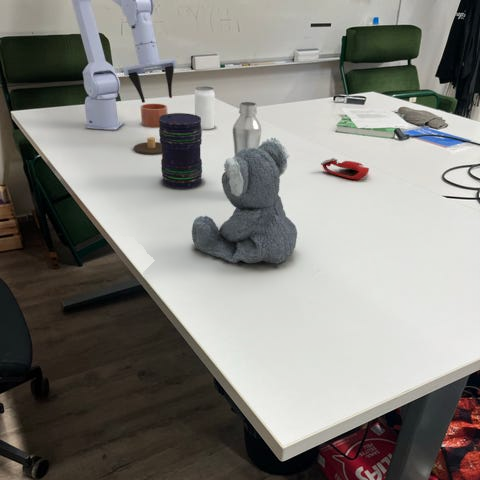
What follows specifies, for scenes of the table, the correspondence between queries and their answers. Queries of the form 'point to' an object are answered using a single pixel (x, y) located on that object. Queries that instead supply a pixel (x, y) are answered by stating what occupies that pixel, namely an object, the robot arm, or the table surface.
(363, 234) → the table surface
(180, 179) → the storage jar
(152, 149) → the wooden lid with knob
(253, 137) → the silver metal bottle
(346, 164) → the tracker holder
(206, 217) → the koala plush
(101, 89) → the robot arm
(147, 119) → the cup
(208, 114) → the can
